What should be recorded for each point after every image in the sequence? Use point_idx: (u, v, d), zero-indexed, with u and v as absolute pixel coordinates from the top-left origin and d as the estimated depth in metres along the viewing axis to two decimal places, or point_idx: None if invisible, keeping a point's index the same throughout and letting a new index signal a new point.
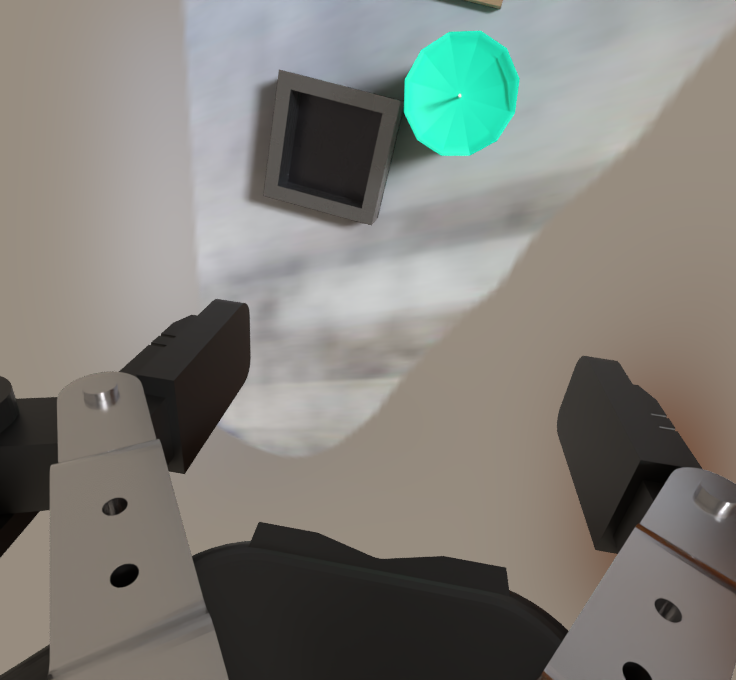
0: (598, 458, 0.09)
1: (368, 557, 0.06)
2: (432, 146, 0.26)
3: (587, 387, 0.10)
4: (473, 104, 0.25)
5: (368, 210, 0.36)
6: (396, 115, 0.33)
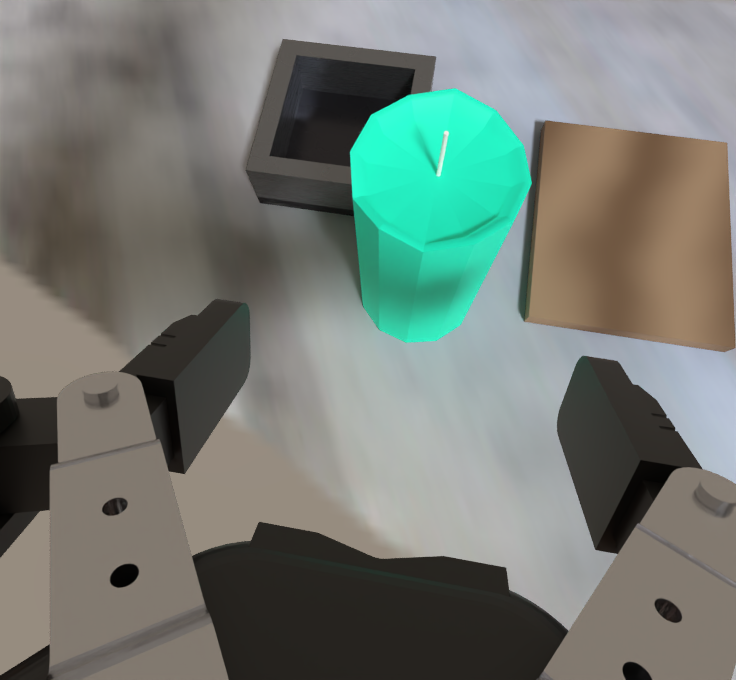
0: (598, 458, 0.09)
1: (368, 557, 0.06)
2: (363, 137, 0.16)
3: (587, 387, 0.10)
4: (429, 194, 0.16)
5: (267, 165, 0.25)
6: None
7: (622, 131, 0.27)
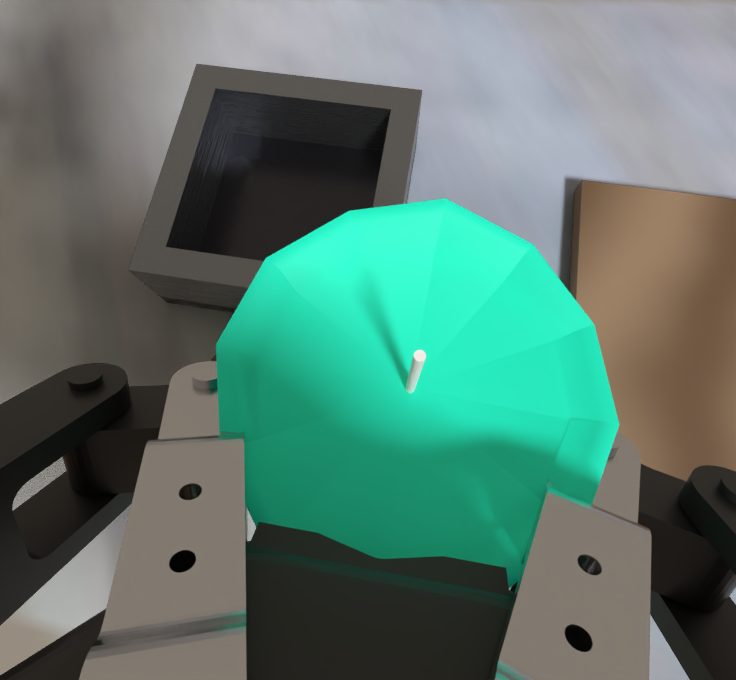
0: None
1: (368, 557, 0.06)
2: (245, 310, 0.07)
3: None
4: (388, 437, 0.07)
5: (163, 260, 0.16)
6: None
7: (695, 196, 0.19)
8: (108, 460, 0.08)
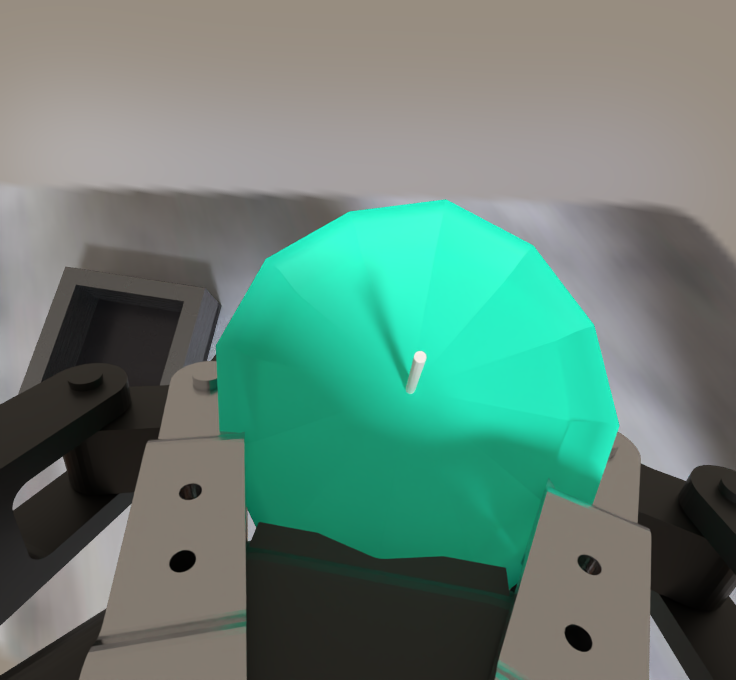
0: None
1: (368, 557, 0.06)
2: (245, 311, 0.07)
3: None
4: (389, 438, 0.07)
5: None
6: None
7: None
8: (108, 460, 0.08)
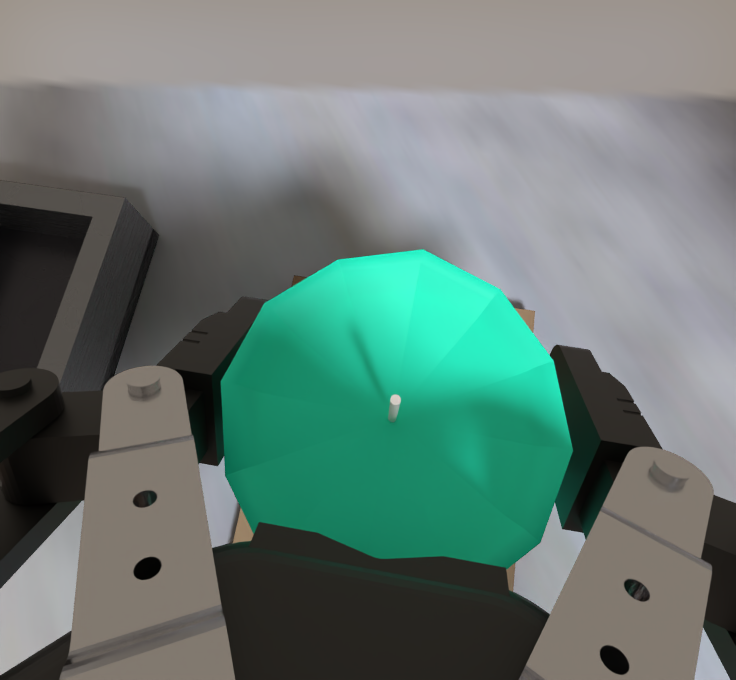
0: None
1: (368, 557, 0.06)
2: (246, 350, 0.08)
3: (559, 374, 0.11)
4: (373, 461, 0.08)
5: None
6: None
7: None
8: (46, 466, 0.08)
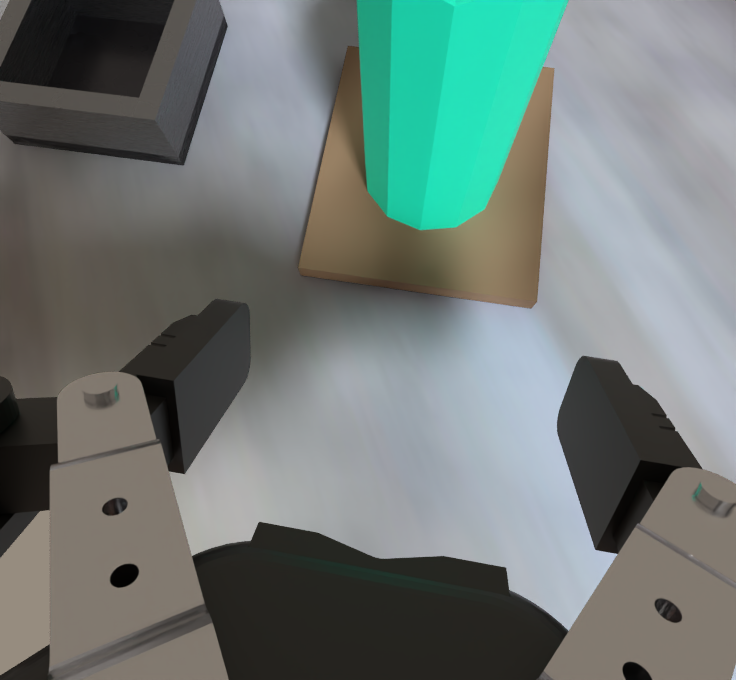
0: (597, 458, 0.09)
1: (368, 556, 0.06)
2: None
3: (587, 387, 0.10)
4: None
5: None
6: (135, 117, 0.20)
7: None
8: (3, 474, 0.07)
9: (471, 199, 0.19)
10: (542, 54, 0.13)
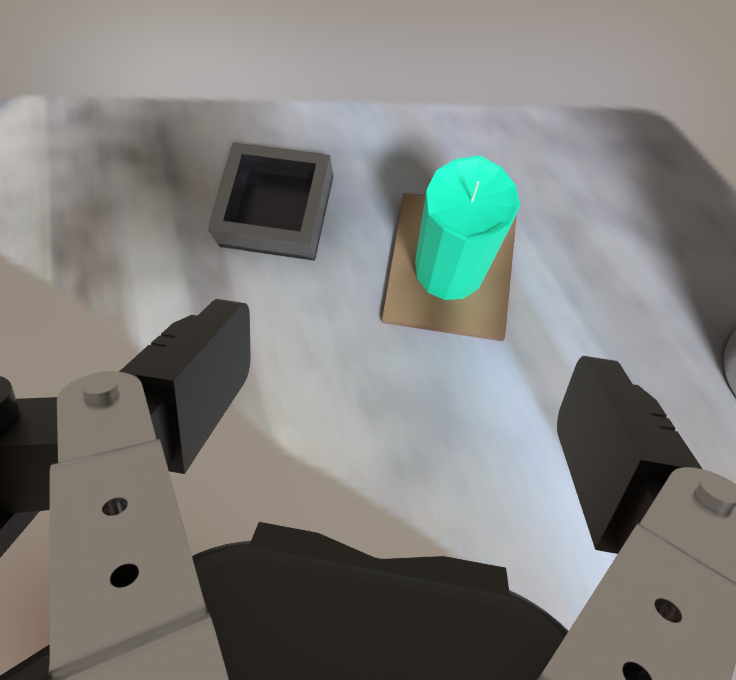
0: (597, 458, 0.09)
1: (368, 557, 0.06)
2: (432, 182, 0.31)
3: (587, 387, 0.10)
4: (467, 211, 0.31)
5: (221, 226, 0.40)
6: (299, 242, 0.39)
7: None
8: (4, 474, 0.07)
9: (471, 287, 0.38)
10: None
